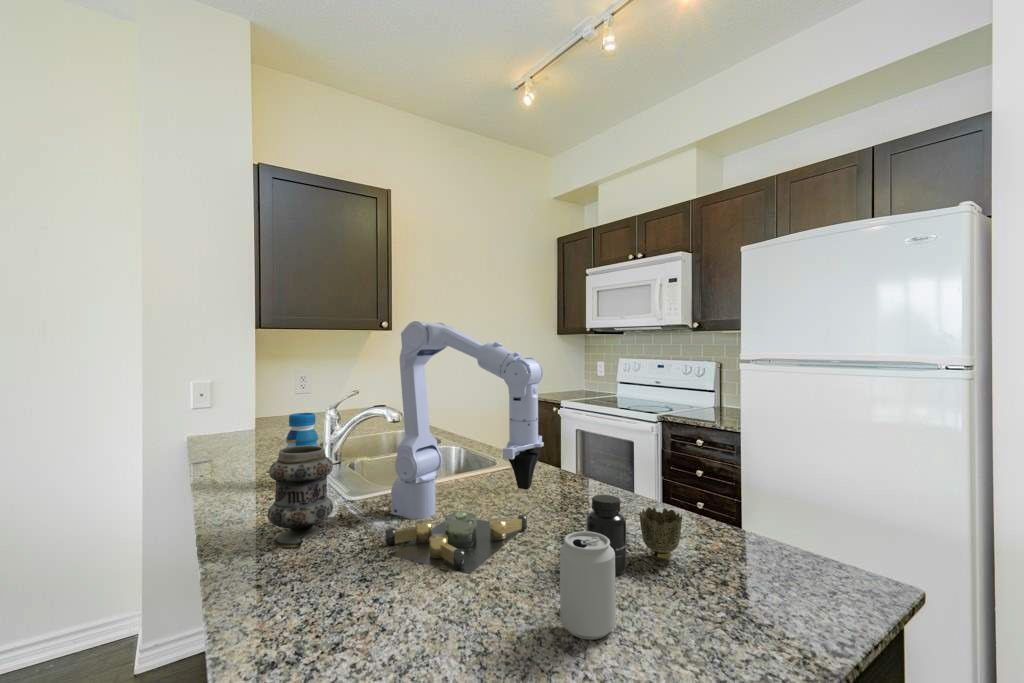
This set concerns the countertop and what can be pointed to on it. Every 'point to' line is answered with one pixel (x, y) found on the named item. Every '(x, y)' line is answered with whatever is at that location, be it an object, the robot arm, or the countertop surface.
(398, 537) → the lever left
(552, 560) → the countertop surface
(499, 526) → the lever right
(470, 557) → the plate
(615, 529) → the supplement bottle
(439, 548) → the lever front
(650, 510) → the cup
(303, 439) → the beverage bottle
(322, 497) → the apothecary jar
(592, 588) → the can
